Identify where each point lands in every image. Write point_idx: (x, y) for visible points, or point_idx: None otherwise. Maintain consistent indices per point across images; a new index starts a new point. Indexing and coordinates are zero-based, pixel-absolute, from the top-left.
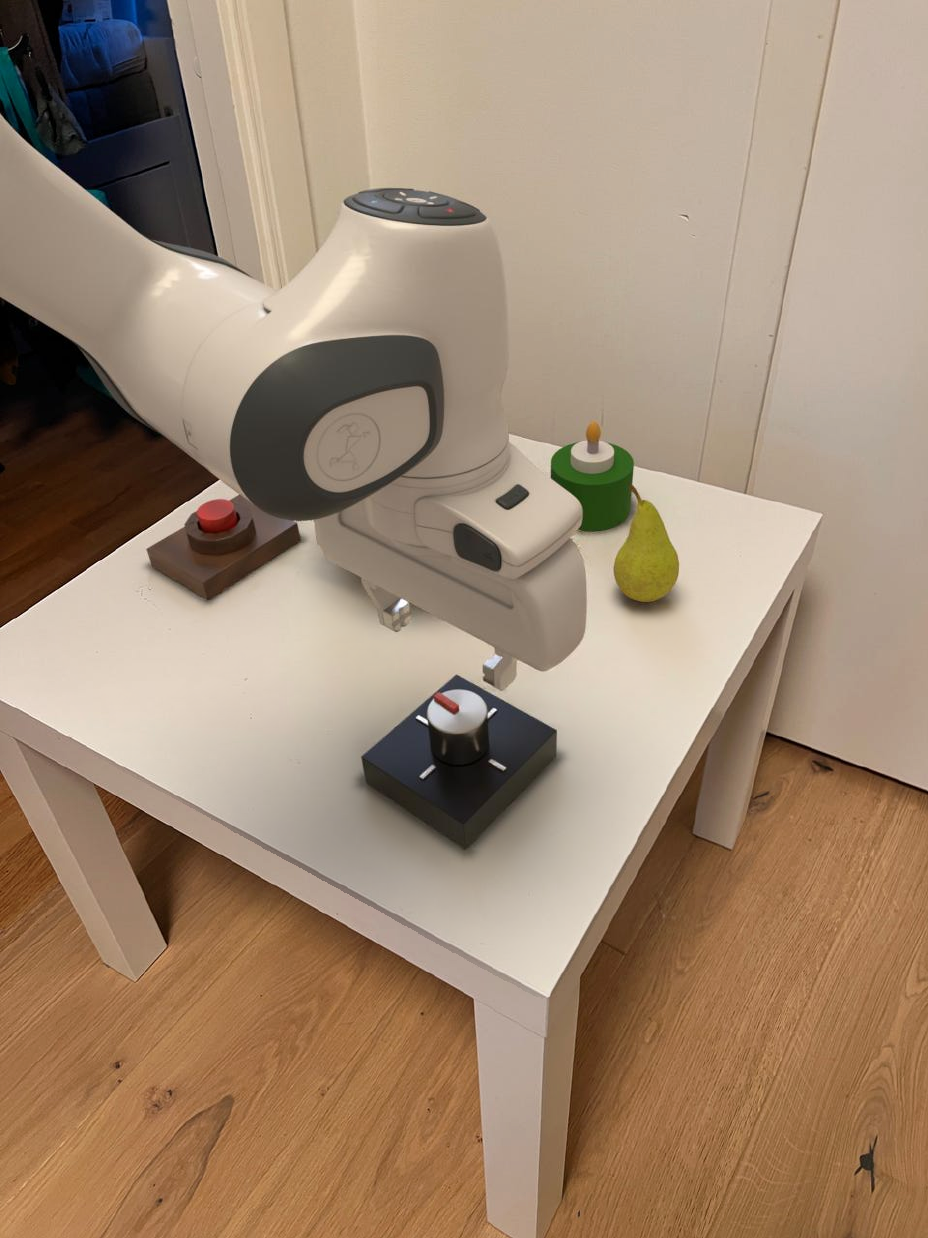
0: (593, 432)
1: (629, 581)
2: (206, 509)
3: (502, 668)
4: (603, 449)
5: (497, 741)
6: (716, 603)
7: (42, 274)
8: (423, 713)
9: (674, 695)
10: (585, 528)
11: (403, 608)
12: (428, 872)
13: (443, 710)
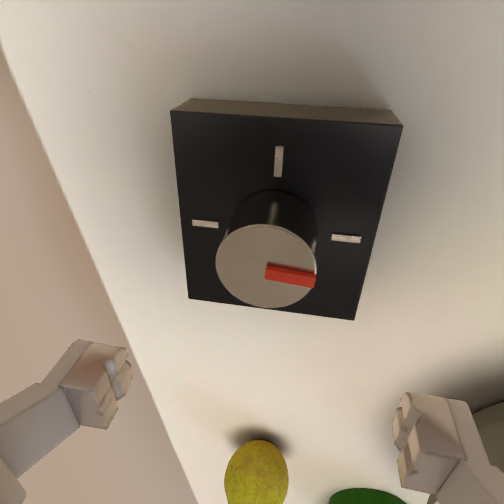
0: None
1: (256, 466)
2: None
3: (12, 403)
4: None
5: None
6: (206, 448)
7: None
8: (356, 249)
9: (167, 367)
10: (356, 491)
11: (406, 471)
12: (205, 30)
13: (284, 260)
